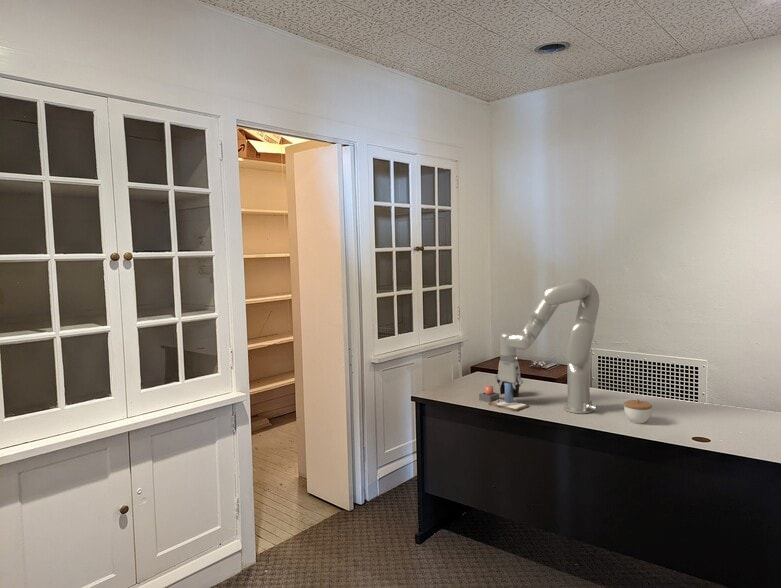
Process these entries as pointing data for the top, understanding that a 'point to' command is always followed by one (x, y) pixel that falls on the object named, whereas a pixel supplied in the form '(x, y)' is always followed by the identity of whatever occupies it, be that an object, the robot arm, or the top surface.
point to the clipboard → (508, 405)
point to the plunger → (488, 390)
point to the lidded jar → (637, 411)
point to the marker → (508, 392)
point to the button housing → (489, 397)
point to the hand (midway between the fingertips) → (508, 394)
